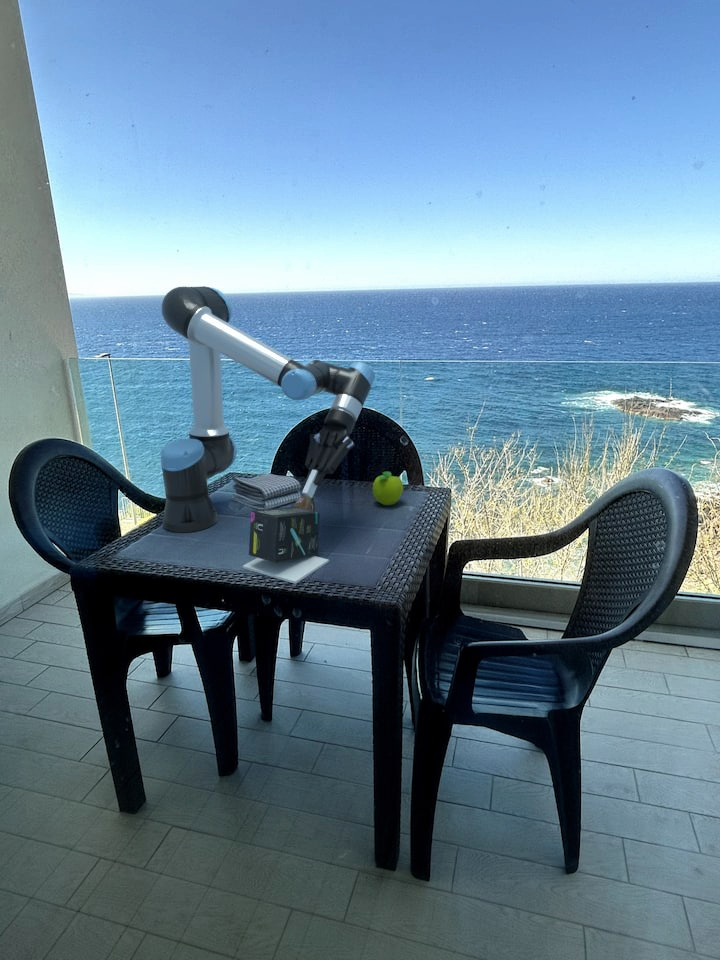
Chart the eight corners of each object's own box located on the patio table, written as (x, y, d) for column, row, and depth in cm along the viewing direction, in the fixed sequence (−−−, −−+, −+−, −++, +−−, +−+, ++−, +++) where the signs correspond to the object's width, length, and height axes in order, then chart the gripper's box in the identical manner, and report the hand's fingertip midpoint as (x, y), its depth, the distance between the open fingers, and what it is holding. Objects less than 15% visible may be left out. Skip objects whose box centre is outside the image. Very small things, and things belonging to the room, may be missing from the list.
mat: (242, 568, 140) (242, 565, 140) (278, 548, 150) (277, 546, 150) (295, 583, 132) (295, 581, 131) (329, 562, 142) (328, 559, 142)
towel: (265, 513, 176) (264, 489, 173) (229, 500, 188) (227, 477, 185) (303, 500, 186) (302, 477, 184) (267, 489, 198) (265, 466, 196)
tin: (301, 539, 156) (299, 509, 154) (289, 538, 157) (287, 508, 154) (316, 518, 170) (315, 491, 168) (305, 518, 171) (304, 490, 168)
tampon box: (294, 506, 149) (249, 509, 138) (320, 511, 144) (276, 515, 132) (291, 548, 150) (247, 555, 139) (317, 555, 145) (273, 563, 133)
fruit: (369, 508, 177) (368, 476, 174) (378, 498, 186) (377, 467, 183) (398, 510, 175) (398, 478, 172) (406, 500, 183) (406, 469, 180)
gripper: (369, 426, 152) (335, 506, 144) (328, 421, 159) (293, 498, 150) (358, 409, 146) (321, 492, 138) (315, 405, 153) (278, 484, 144)
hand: (306, 495), depth 144 cm, fingers closed
